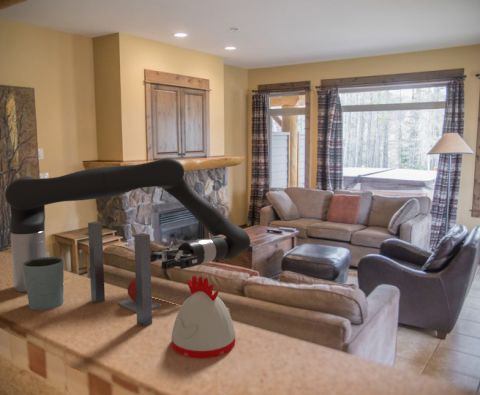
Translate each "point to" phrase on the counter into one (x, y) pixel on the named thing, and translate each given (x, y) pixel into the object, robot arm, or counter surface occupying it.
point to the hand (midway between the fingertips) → (152, 262)
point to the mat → (132, 304)
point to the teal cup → (44, 282)
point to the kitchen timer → (203, 323)
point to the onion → (132, 290)
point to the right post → (143, 279)
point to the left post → (96, 261)
